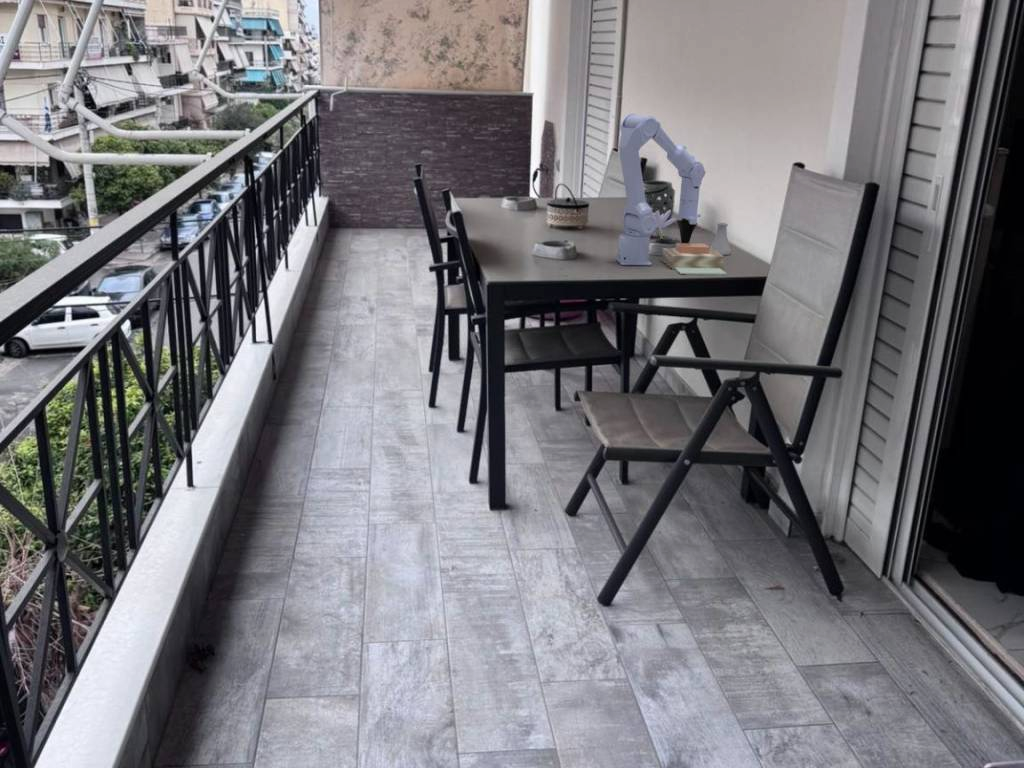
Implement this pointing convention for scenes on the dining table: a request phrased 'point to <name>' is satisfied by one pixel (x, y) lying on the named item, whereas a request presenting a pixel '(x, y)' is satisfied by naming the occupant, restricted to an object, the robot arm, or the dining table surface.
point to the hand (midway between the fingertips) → (684, 243)
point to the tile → (692, 248)
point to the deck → (692, 259)
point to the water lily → (662, 221)
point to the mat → (700, 271)
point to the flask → (721, 240)
